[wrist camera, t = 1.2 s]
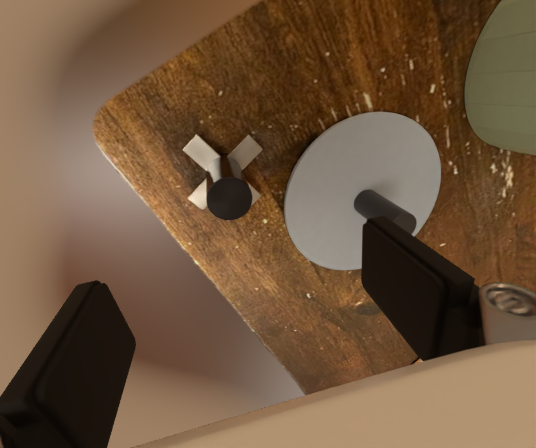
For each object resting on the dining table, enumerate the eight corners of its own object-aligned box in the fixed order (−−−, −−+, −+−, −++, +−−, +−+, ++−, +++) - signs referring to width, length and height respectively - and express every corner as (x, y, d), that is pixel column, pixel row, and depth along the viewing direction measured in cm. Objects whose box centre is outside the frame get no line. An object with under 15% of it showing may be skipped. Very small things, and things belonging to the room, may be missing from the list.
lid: (287, 108, 22) (317, 115, 16) (454, 112, 25) (530, 120, 19) (277, 270, 28) (296, 317, 23) (409, 258, 31) (455, 296, 26)
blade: (161, 170, 22) (142, 203, 16) (221, 105, 21) (227, 111, 14) (225, 223, 25) (231, 267, 19) (281, 168, 24) (307, 196, 17)
